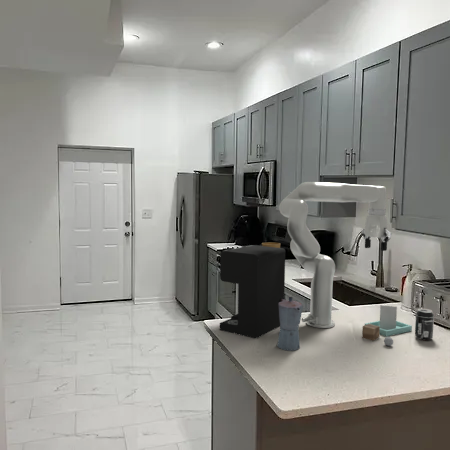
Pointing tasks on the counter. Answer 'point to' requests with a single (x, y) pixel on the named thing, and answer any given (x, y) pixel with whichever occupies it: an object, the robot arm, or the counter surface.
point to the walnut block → (370, 332)
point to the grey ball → (388, 341)
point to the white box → (388, 317)
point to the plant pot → (271, 244)
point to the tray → (399, 329)
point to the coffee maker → (254, 288)
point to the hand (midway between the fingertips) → (375, 249)
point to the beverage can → (424, 324)
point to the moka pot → (289, 324)
